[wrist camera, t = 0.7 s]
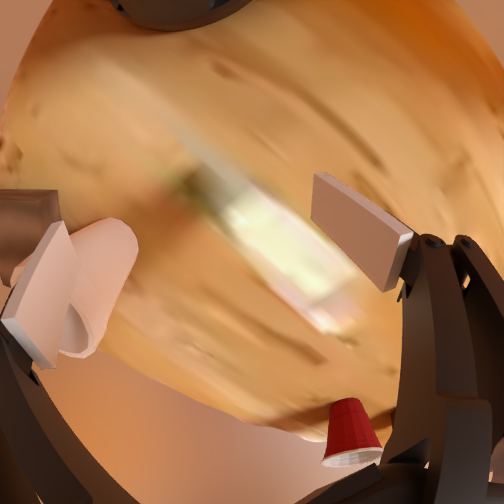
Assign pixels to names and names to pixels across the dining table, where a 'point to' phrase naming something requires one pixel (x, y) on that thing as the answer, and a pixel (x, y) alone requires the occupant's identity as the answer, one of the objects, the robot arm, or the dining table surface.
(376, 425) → the dining table surface
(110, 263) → the foam cup
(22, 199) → the walnut plinth
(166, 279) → the dining table surface
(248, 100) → the dining table surface
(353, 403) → the plastic cup
